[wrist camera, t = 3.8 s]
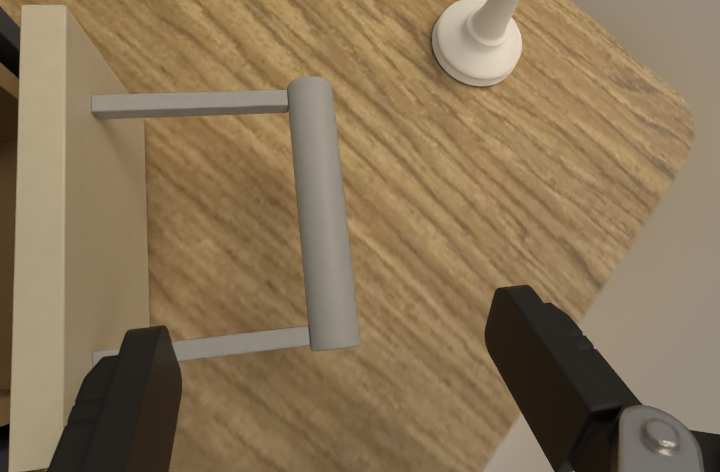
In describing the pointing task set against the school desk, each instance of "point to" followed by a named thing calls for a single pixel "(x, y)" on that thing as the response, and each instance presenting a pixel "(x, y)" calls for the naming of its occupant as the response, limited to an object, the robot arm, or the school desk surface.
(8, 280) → the drawer
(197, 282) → the school desk surface
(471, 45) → the chess piece
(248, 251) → the school desk surface
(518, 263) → the school desk surface
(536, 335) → the robot arm
